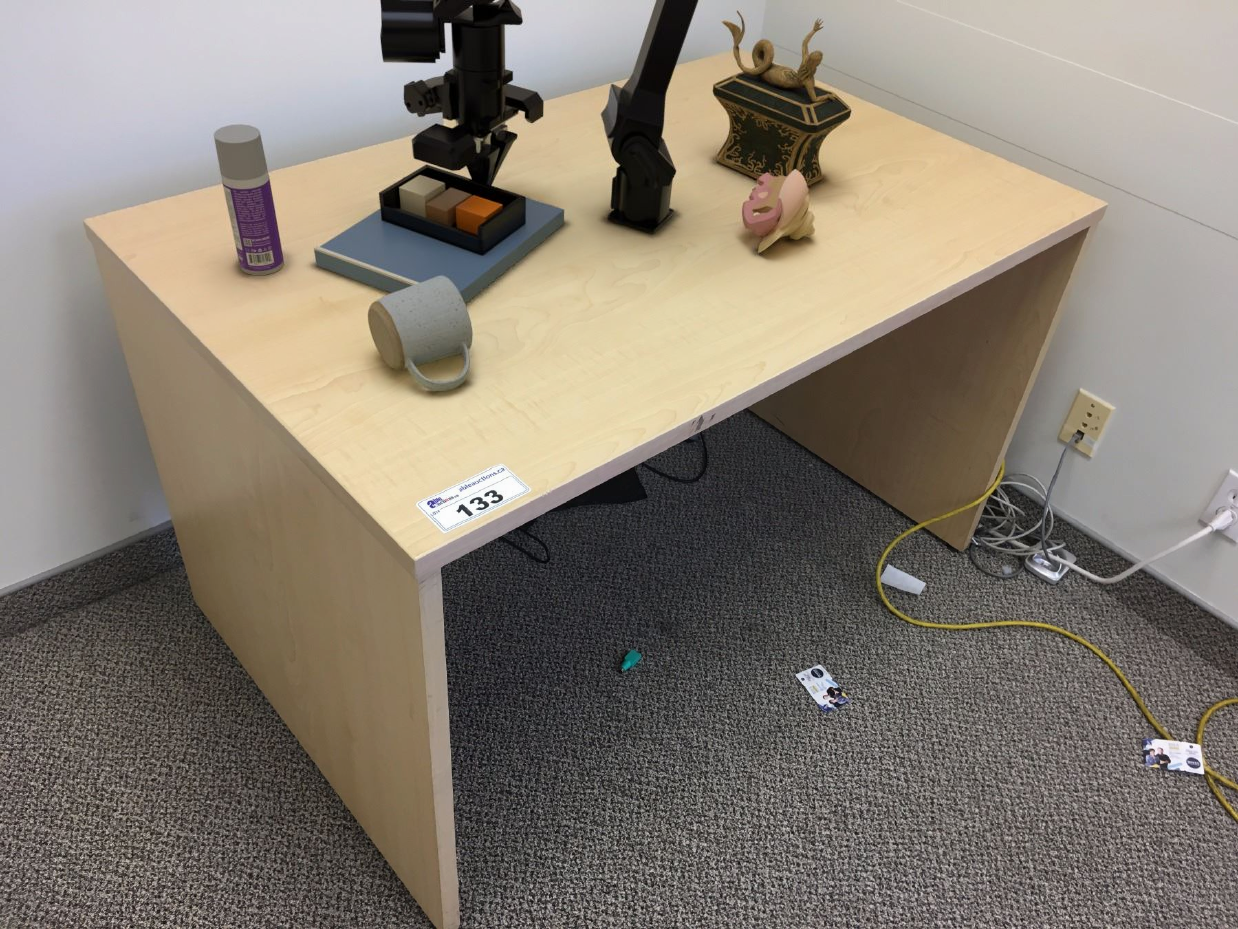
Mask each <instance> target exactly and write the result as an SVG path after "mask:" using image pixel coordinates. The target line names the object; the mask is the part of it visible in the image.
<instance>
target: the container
mask: <svg viewBox="0 0 1238 929" xmlns="http://www.w3.org/2000/svg"><path fill="white" fill-rule="evenodd" d="M213 139H214V140H213V141H214V144H215V150H216V155H217V161H218V166H219V172H220V178H221V183H222V188H223V192H224V198H225V203H226V207H227V212H228V216H229V221H230V225H231V232H232V236H233V239H234V246H235V249H236V254H237V258H238V263H239V264H238V265H239V268H240V270H241V271H242V272H244V273H245V274H248V275H253V276H266V275H272V274H273V273H276V272H279V271H281V269H282V268H283V267H284V265H285V260H284V254H283V253H284V252H283V248H282V242H281V237H280V230H279V225H278V219H277V214H276V207H275V202H274V196H273V191H272V184H271V179H270V174H269V168H268V165H267V159H266V154H265V150H264V145H263V140H262V136H261V131H260V129H259V128H257V127H256V126H253V125H250V124H239V123H238V124H229V125H225V126H221V127H219V128H218V129H216V130H215V131H214V133H213Z"/></svg>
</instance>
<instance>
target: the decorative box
mask: <svg viewBox="0 0 1238 929" xmlns="http://www.w3.org/2000/svg"><path fill="white" fill-rule="evenodd" d="M736 14H737V15H738V16H739V17H740V19H741V20H740V21H741V27H740V26H739V25H738V24H735V23H733V22H732V21H728V20H722V21H721V23H722V24H723V25H724V26H725V27H726V28H727V29H728V30H729V32H730V33H731V36H732V38H733V46H732V52H733V57H734V59H735V61H736V64H737V66H738V68H739V69H740V70H741V72H738V73H736V74H733V75H730V76H729V77H726V78H723V79H722V80H720V81H717V82H715V83H714V84H713V85H712V94H713V96H714V98H715V99H716V100H717V101H718V103H719V104H720V105H721V106H722V108H724V110H725V111H726V114H727V116H728V119H729V128H728V134H727V137H726V139H725V141H724V143H723V145H722V146H721V148H720V149H719V151H718V153H717V154H716V155H715V156H716V157H715V158H716V162H718V163H720V164H722V165H724V166H726V167H729V168H730V169H731V168H732V169H733V170H736V171H738V172H740V173H743V174H745V175H746V176H749V177H751V178H753V179H755V180H757V179H758V178H759V177H761V176H762V175H763V174H765V173H767V172H768V173H769V174H770V175H771V176H774V177H778V176H787V177H788V175H789V174H790V173H791V172H792V171H793V170H794V169H796V170H797V171H799V172H800V173H801V174H802V175H803V177H804V179H805V181H806V184H807V187H809V186H811V185H813V184H815V183H817V182H819V181H820V180H822V179H823V177H824V175H823V172H822V168H821V164H820V151H821V148H822V146H823V143H824V141H825V140H826V138H827V137H828V135H829V134H830V133H831V132H832V131H834V130H835V129H837V128H838V127H839V126H841V125H842V124H843V123H845V122H846V121H847V120H849V119H850V118H851V115H852V108H851V107H850V106H849V104H847V102H845V101H844V100H843V99H842V98H841V97H839V96H838V95H837V94H836V93H835V92H834V91H832V90H830V89H827V88H824V87H821V86H819V85H816V80H815V74H816V72H817V69H818V67H819V66H820V65H821V63H822V61H823V56H824V52H822V51H821V50H818V49H816V50H814V51H812V52H810V53H809V46H808V44H809V43H810V41H811V39H812V38H813V36H814V35H815V33H817V32H818V31H821V30H822V29H824V26H821V25H822V24H823V23H824V20H822V18H820V19H819V17H818V18H817V19H816V20H815V21H814V25H813V28H812V30H810V32H808V34H807V35H806V36H805V37H804V39H803V40H802V44H801V63H800V64H799V67H798V69H797V71H796V70H794V69H793V68H792V67H788V66H784V65H781V64H777V63H774V62H773V61H774V57H775V49H774V45H773V43H772V42H771V41H770V40H768V39H765V38H764V39H760V40H758V41H757V42H756V43H755V44H754V46H753V48H752V52H751V59H752V63H753V66H754V67H751V68H750V67H747V66H745V65H744V64H743V63H742V59H741V58H742V57H741V55H740V44H741V43H742V40H743V38H744V36H745V34H746V33H745V32H746V24H745V20H744V18H743V16H742V14H741V12H740V11H739V10H736Z"/></svg>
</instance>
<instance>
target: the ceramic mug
mask: <svg viewBox="0 0 1238 929" xmlns="http://www.w3.org/2000/svg"><path fill="white" fill-rule="evenodd" d="M367 322H368V327H369V331H370V334H371V339H372V340H373V343H374V346H375V348H376V350H377V352H378V353H379V355H380V357H381V358H382V360H383V362H384V363H385V364H386V365H388V367H390V368H392V369H394V370H406V369H407V370H408V373H409V375H410V376H411V377H412V378H413V380H415V382H416V383H417V384H419V385H420V386H421V387H423V388H424V389H427V390H430V391H435V392H448V391H451V390H452V389H456V388H458V387H460V386H461V385H462V384H464V382H465V381H466V379H467V377H468V374H469V370H470V367H471V365H470V364H471V359H470V358H471V356H470V353H469V350H470V349H471V347H472V345H473V336H474V334H473V326H472V320H471V317H470V314H469V311H468V307H467V305H466V304H465V303H464V300H463V299H462V297H461V294H460V293H459V291H458V289H457V288H456V286H455V285H454V284H453V283H452V281H451V280H450V279H448V278H447V277H445V276H437V277H434V278H432V279H429V280H427V281H424V282H421V283H418V284H415V285H413V286H410V287H407V288H405V289H402V290H399V291H396V292H394V293H389V294H386V295H384V296H382V297H380V298H378V299H376V300H375V301H373V302H371V304H370V305H369V308H368V311H367ZM459 354H461V355H462V359H463V364H464V366H463V369H462V370H461V373H460V374H459V375H458V376H457V377H456V378H454V379H450V380H444V381H443V380H434V379H430V378H427V377H426V376H424V375H423V374H422V373H421V372H420V371H419V369H418V368H417V367H418V366H422V365H425V364H428V363H431V362H435V361H438V360H442V359H446V358H449V357H453V356H455V355H459Z"/></svg>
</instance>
